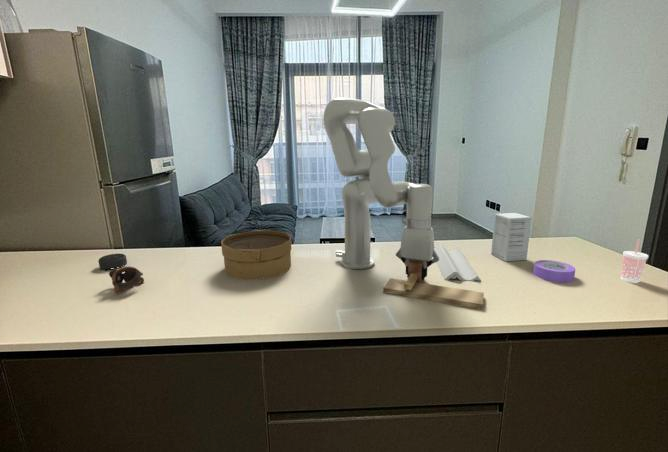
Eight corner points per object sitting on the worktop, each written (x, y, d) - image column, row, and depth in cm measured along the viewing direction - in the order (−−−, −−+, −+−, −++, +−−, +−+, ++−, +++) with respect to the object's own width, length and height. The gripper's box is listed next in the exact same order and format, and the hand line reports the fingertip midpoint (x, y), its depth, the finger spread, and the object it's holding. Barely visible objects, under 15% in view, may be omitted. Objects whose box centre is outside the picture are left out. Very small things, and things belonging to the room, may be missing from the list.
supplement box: (527, 260, 128) (533, 217, 124) (505, 261, 127) (510, 218, 123) (510, 252, 138) (515, 212, 134) (490, 253, 136) (494, 213, 132)
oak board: (383, 292, 103) (383, 287, 103) (390, 282, 110) (390, 278, 110) (482, 309, 92) (483, 304, 91) (483, 297, 99) (483, 292, 98)
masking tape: (528, 268, 121) (529, 258, 120) (564, 270, 118) (566, 260, 117) (540, 281, 110) (541, 270, 109) (580, 284, 107) (582, 273, 106)
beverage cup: (638, 278, 111) (647, 237, 107) (645, 285, 105) (655, 242, 102) (615, 275, 113) (623, 235, 110) (621, 282, 108) (630, 240, 104)
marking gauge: (400, 294, 101) (401, 272, 99) (411, 276, 114) (412, 256, 113) (414, 296, 99) (415, 274, 97) (423, 278, 113) (424, 258, 111)
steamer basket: (272, 284, 110) (269, 251, 108) (209, 276, 118) (205, 245, 116) (303, 260, 133) (301, 232, 130) (248, 255, 141) (246, 228, 138)
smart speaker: (117, 270, 124) (116, 260, 123) (94, 270, 124) (92, 260, 123) (132, 262, 133) (130, 252, 132) (110, 262, 133) (108, 253, 132)
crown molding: (480, 283, 110) (481, 272, 109) (442, 281, 112) (443, 271, 111) (459, 252, 140) (459, 244, 139) (429, 251, 142) (430, 243, 141)
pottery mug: (154, 283, 113) (147, 268, 108) (134, 306, 106) (126, 290, 101) (122, 273, 115) (114, 257, 109) (101, 294, 108) (91, 279, 102)
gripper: (389, 223, 106) (388, 277, 111) (444, 228, 99) (440, 285, 104) (395, 219, 113) (394, 270, 117) (447, 223, 106) (444, 277, 110)
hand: (416, 276), depth 111 cm, fingers closed on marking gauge, 4 cm apart
